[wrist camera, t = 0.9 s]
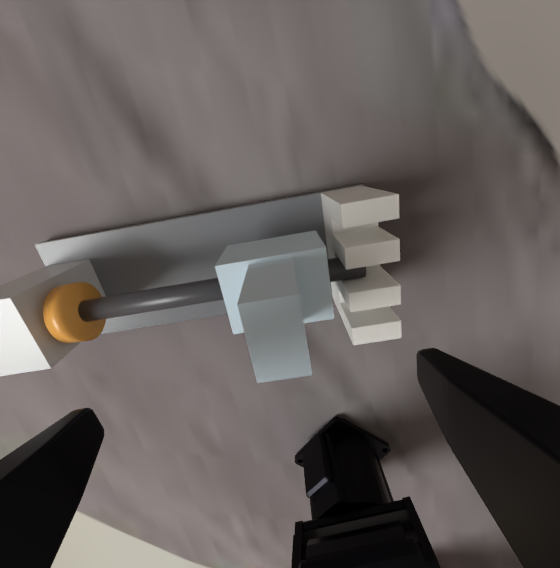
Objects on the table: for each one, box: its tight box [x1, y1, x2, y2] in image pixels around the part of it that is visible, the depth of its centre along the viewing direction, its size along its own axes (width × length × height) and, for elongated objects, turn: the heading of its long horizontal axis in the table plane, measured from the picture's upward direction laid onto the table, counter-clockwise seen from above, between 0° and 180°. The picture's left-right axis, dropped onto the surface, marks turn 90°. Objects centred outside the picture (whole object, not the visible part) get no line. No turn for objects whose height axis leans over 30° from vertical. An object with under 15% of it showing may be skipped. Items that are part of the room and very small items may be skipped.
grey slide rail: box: [0, 184, 401, 376], centre depth 17 cm, size 21×7×7 cm, turn 100°
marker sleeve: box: [215, 230, 334, 383], centre depth 13 cm, size 5×4×8 cm
